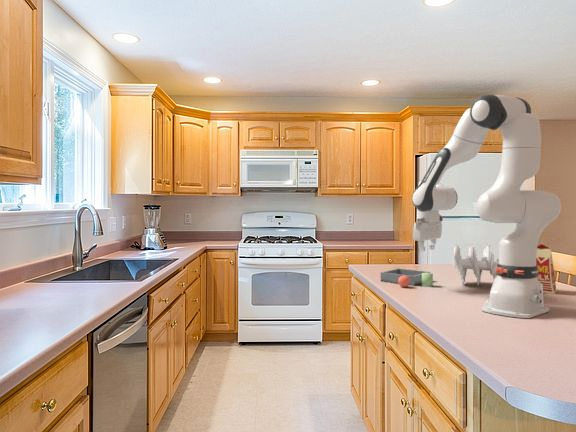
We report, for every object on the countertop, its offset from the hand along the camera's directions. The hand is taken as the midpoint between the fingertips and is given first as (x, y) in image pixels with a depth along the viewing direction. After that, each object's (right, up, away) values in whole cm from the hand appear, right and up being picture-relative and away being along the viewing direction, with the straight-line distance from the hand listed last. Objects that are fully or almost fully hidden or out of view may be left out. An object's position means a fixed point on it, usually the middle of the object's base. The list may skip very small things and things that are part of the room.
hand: (427, 250), depth 176 cm
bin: (-6, -15, +11) cm, 20 cm away
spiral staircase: (+25, -15, 0) cm, 29 cm away
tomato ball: (-11, -15, -2) cm, 19 cm away
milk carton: (+42, -15, -10) cm, 46 cm away
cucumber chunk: (0, -15, 0) cm, 15 cm away
